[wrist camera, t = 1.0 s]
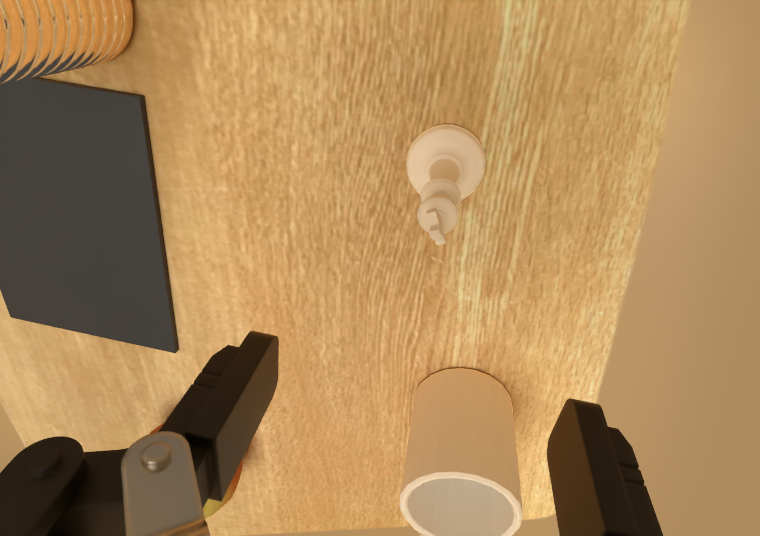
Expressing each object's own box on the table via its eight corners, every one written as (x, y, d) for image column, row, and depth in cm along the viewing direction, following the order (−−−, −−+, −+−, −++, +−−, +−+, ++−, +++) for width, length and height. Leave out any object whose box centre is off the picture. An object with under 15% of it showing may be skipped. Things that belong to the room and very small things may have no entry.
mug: (387, 442, 44) (366, 549, 35) (435, 353, 37) (425, 458, 29) (467, 472, 44) (466, 585, 36) (529, 388, 38) (545, 503, 29)
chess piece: (419, 208, 31) (400, 290, 23) (396, 138, 29) (365, 199, 21) (493, 189, 30) (502, 269, 21) (474, 113, 28) (476, 168, 19)
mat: (-79, 57, 32) (-86, 58, 31) (144, 95, 31) (139, 97, 30) (15, 314, 43) (10, 317, 43) (178, 349, 42) (175, 353, 42)
